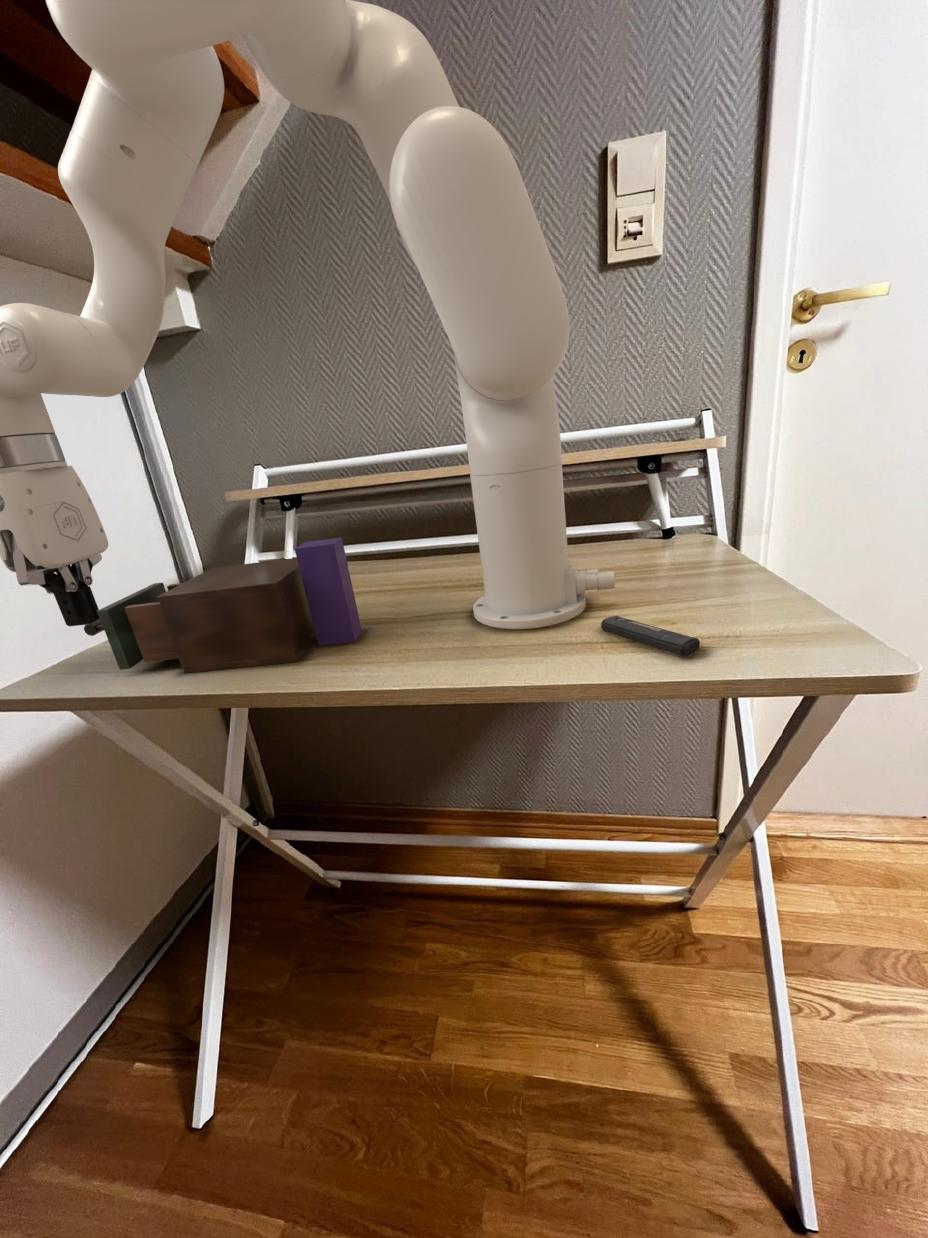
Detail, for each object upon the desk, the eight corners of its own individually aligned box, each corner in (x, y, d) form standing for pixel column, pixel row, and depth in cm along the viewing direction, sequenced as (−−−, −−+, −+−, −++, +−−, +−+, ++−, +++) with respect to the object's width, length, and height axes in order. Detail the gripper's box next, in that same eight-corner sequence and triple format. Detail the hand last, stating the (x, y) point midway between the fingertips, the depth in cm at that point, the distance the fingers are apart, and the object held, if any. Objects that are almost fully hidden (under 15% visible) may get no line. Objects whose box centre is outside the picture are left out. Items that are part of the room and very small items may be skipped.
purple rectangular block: (362, 631, 62) (341, 537, 58) (355, 642, 59) (333, 543, 55) (326, 635, 62) (304, 541, 58) (318, 646, 59) (294, 548, 55)
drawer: (86, 673, 58) (62, 614, 56) (142, 638, 67) (123, 587, 65) (220, 659, 56) (201, 598, 54) (259, 625, 66) (244, 572, 63)
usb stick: (703, 651, 45) (704, 635, 45) (684, 662, 44) (684, 644, 44) (617, 626, 53) (616, 611, 52) (598, 634, 52) (597, 619, 51)
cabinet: (183, 673, 57) (157, 596, 54) (232, 634, 67) (211, 567, 64) (297, 661, 55) (276, 582, 52) (329, 623, 66) (313, 555, 63)
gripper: (-13, 457, 48) (65, 645, 54) (103, 448, 62) (154, 599, 68) (-87, 468, 49) (-2, 652, 55) (43, 457, 63) (99, 605, 69)
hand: (84, 622), depth 61 cm, fingers closed
